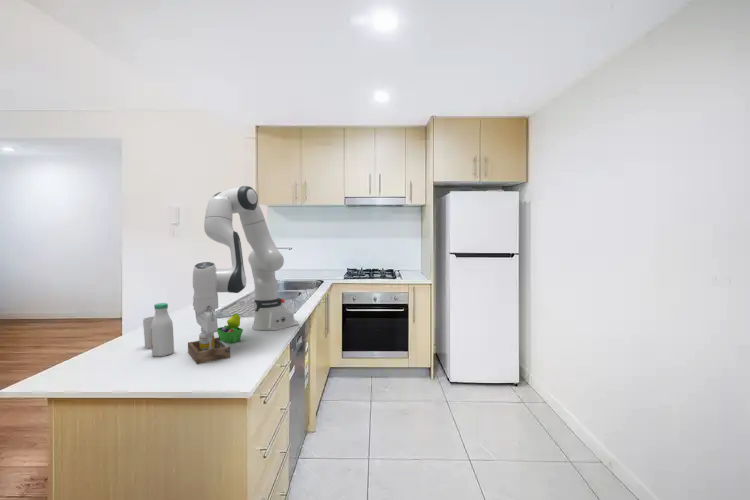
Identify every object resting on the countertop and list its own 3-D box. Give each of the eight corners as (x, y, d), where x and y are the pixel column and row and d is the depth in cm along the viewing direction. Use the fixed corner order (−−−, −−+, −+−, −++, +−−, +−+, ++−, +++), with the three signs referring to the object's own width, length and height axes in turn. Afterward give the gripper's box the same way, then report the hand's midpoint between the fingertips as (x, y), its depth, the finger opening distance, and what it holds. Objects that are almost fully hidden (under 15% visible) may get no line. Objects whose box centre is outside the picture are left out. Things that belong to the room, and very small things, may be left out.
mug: (157, 348, 161) (156, 319, 160) (140, 348, 161) (139, 320, 160) (169, 341, 171) (168, 314, 171) (154, 341, 171) (152, 314, 170)
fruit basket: (215, 339, 173) (214, 314, 173) (234, 335, 180) (233, 311, 179) (227, 344, 166) (226, 318, 165) (246, 340, 172) (246, 314, 171)
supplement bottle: (210, 348, 156) (209, 325, 156) (217, 351, 153) (216, 327, 152) (197, 352, 152) (196, 327, 152) (203, 355, 149) (203, 330, 148)
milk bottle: (178, 351, 157) (176, 302, 156) (162, 357, 150) (160, 306, 148) (163, 349, 160) (161, 301, 158) (147, 355, 152) (144, 305, 151)
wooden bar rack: (219, 346, 163) (218, 336, 163) (230, 357, 149) (230, 347, 149) (187, 351, 156) (187, 342, 156) (197, 364, 142) (196, 353, 142)
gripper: (221, 307, 145) (222, 344, 146) (208, 299, 161) (209, 332, 162) (203, 310, 141) (204, 347, 142) (192, 301, 158) (193, 335, 159)
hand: (207, 339), depth 152 cm, fingers closed on supplement bottle, 5 cm apart
